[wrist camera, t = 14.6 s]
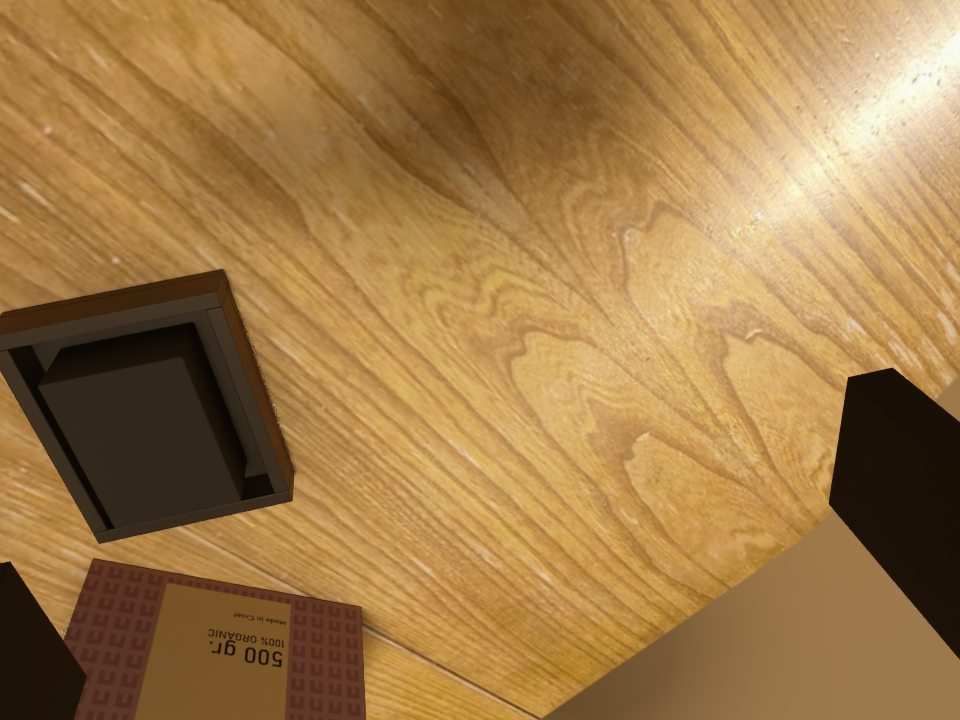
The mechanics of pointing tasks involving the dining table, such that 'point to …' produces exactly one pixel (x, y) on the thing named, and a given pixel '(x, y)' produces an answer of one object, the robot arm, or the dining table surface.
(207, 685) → the box
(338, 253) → the dining table surface
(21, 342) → the dark brown shallow tray
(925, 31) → the dining table surface
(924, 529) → the robot arm
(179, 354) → the top pad
